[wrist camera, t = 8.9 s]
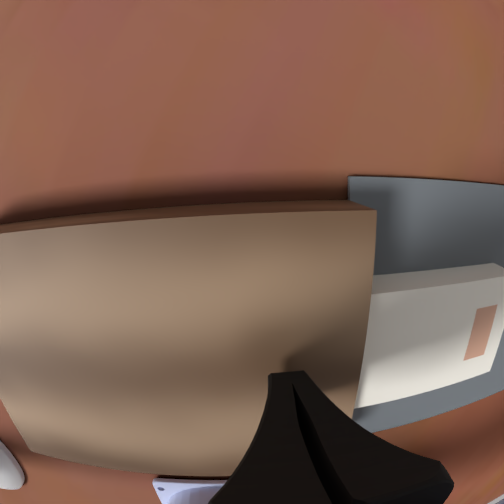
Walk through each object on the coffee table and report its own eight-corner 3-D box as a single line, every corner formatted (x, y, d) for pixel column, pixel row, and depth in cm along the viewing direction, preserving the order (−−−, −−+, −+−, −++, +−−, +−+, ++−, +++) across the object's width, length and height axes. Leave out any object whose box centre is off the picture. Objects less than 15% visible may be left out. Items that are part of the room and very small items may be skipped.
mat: (509, 383, 18) (511, 385, 17) (326, 437, 17) (327, 441, 17) (554, 192, 14) (557, 192, 13) (347, 176, 13) (350, 176, 13)
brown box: (328, 427, 17) (340, 463, 14) (48, 421, 16) (31, 451, 13) (347, 199, 13) (376, 210, 10) (-16, 226, 12) (-53, 240, 10)
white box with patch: (493, 262, 14) (516, 274, 12) (472, 354, 16) (490, 371, 14) (352, 277, 14) (370, 294, 12) (342, 384, 15) (353, 408, 14)
